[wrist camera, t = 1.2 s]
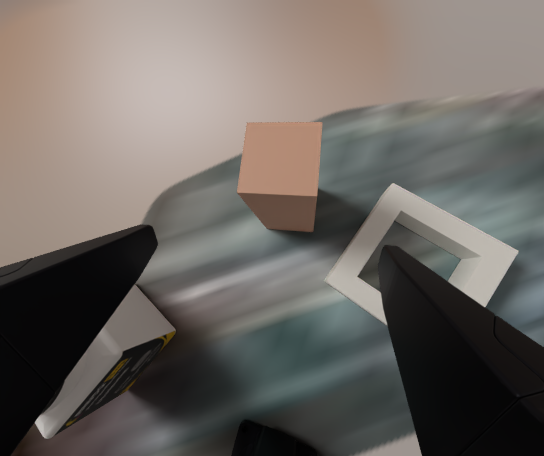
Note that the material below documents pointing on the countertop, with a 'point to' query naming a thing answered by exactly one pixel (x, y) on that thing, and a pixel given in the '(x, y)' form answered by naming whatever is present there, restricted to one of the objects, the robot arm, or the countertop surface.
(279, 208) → the plug
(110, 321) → the printed box
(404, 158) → the countertop surface
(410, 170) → the countertop surface
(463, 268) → the socket block
